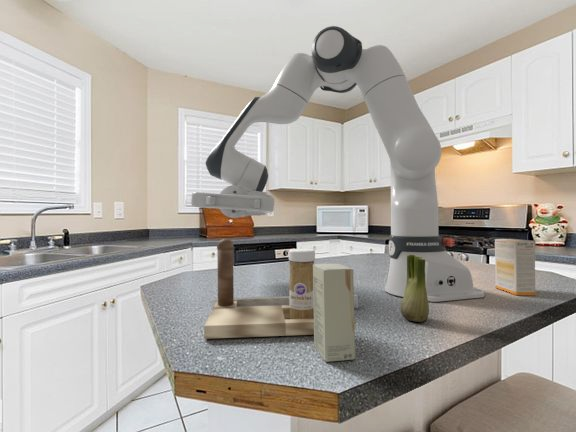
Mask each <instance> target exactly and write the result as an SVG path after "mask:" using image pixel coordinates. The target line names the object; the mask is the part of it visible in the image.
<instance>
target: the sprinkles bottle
mask: <svg viewBox="0 0 576 432" xmlns="http://www.w3.org/2000/svg"><path fill="white" fill-rule="evenodd" d="M315 260H316V250H314V249H311V248H291V249H290V250H289V251H288V263H289V295H288V296H289V304H290V318H289V319H314V298H313V265H314V264H315Z"/></svg>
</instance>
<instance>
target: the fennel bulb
mask: <svg viewBox="0 0 576 432" xmlns="http://www.w3.org/2000/svg"><path fill="white" fill-rule="evenodd" d="M399 306H400V307H399V308H400V312H401V315H402V316H403V317H404V318H405V319H406V320H408V321H409V322H417V323H418V322H419V323H423V322H425V321H426V320H428V318H429V315H430V314H429V312H430V306H429V301H428V297H427V292H426V283H425V259H422V257H417V256H415V255H407V283H406V289H405V293H404V297H402V299H401V303H400V305H399Z"/></svg>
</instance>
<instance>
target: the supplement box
mask: <svg viewBox="0 0 576 432" xmlns="http://www.w3.org/2000/svg"><path fill="white" fill-rule="evenodd" d="M535 244H536V241H535V240H530V239H529V240H528V239H527V240H526V239H517V238H495V239H494V267H495V269H494V273H495V274H494V275H495V277H494V278H495V280H494V282H495V284H494V285H495V286H494V287H495V289H497V288H498V289H497V290H500V289H501V290H500V291H503V290H504V291H503V292H506V291H507V292H506V293H509V292H510V293H509V294H512V295H515V296H536V245H535Z"/></svg>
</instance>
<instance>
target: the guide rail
mask: <svg viewBox="0 0 576 432" xmlns="http://www.w3.org/2000/svg"><path fill="white" fill-rule="evenodd" d="M234 301H237V307H245V306H277V305H290V304H289V295H284V296H282V295H281V296H280V295H279V296H276V295H275V296H250V297H249V296H248V297H243V296H242V297H234ZM216 302H218V297H217V298H215V297H213V298H212V299H211V311H212V310H213V308H214V306H215V304H216ZM358 308H359V295H358V294H356V293H355V294H354V309H358Z"/></svg>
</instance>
